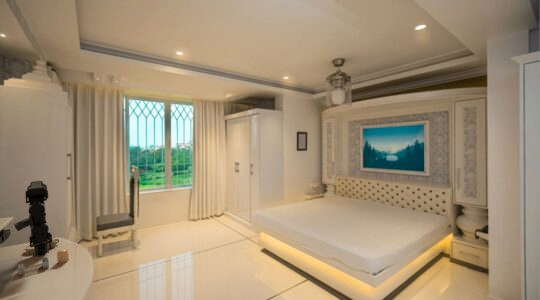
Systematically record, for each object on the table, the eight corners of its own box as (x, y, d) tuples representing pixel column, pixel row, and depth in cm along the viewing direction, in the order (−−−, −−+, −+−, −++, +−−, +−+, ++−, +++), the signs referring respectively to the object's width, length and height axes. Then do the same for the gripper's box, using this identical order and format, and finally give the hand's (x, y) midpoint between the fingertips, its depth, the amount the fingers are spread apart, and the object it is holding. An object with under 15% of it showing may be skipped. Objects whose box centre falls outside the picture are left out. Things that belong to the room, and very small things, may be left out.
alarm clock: (22, 246, 141) (54, 233, 153) (24, 254, 142) (57, 240, 154) (27, 251, 135) (60, 237, 147) (30, 259, 135) (63, 244, 148)
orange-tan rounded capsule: (57, 262, 126) (56, 250, 125) (68, 259, 129) (67, 248, 129) (58, 265, 123) (57, 253, 122) (69, 261, 126) (68, 250, 125)
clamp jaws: (18, 272, 116) (17, 265, 116) (47, 263, 123) (47, 257, 123) (18, 276, 112) (18, 269, 112) (48, 267, 119) (48, 260, 119)
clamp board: (19, 271, 118) (18, 269, 118) (46, 263, 125) (46, 261, 125) (19, 281, 110) (19, 279, 110) (49, 272, 117) (49, 270, 117)
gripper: (14, 212, 124) (16, 242, 125) (14, 219, 111) (17, 253, 112) (44, 207, 132) (46, 235, 133) (47, 213, 119) (49, 244, 120)
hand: (39, 241), depth 124 cm, fingers open, 9 cm apart
